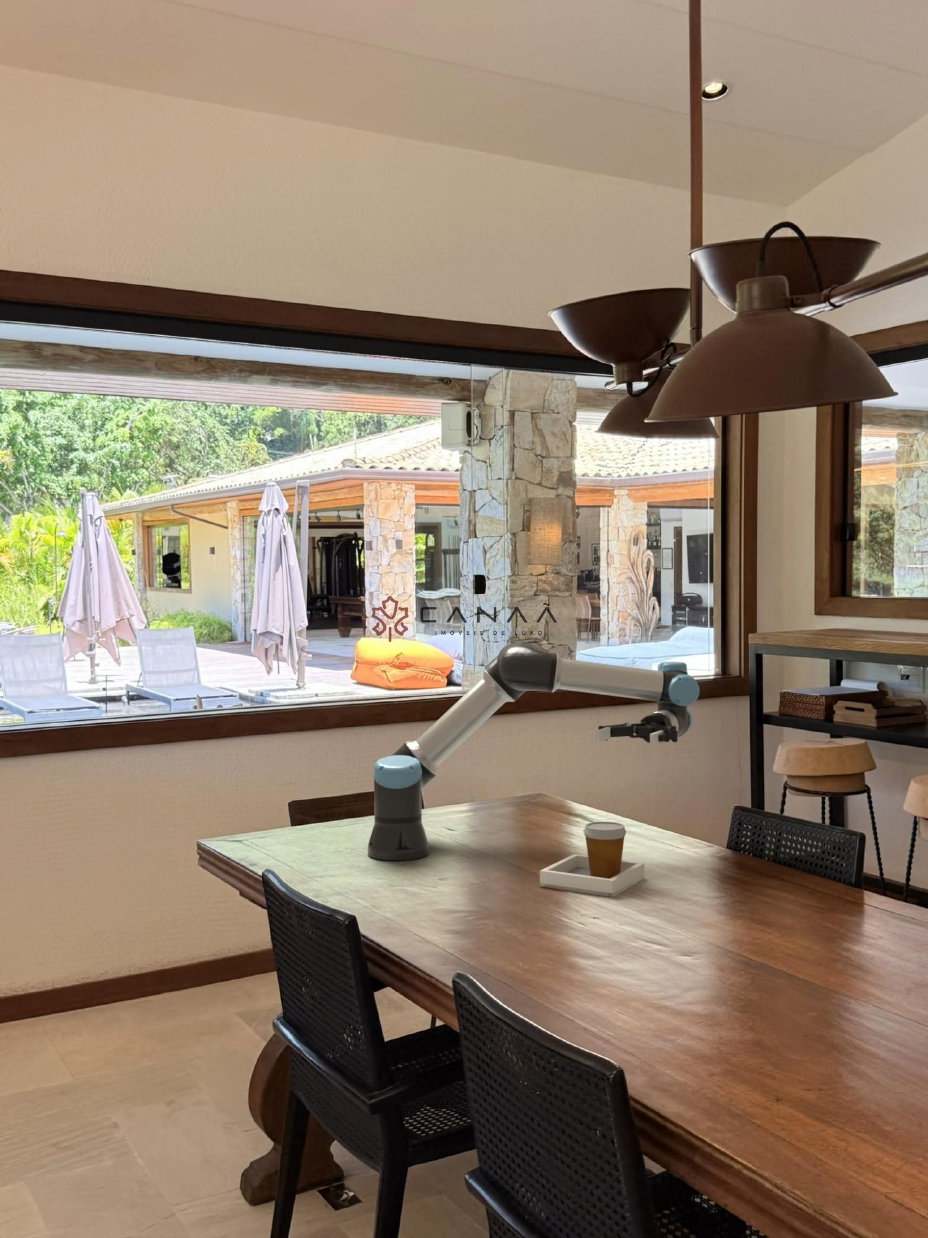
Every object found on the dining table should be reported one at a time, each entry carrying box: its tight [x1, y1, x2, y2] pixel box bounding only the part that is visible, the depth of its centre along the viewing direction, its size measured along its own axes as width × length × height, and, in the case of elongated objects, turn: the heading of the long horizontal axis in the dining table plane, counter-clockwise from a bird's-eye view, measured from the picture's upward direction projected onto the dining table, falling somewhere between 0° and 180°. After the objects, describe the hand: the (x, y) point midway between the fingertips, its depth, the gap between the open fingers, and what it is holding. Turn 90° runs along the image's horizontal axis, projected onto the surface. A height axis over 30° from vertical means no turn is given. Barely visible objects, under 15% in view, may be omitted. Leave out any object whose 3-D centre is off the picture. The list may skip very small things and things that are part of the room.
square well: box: [539, 853, 646, 898], centre depth 257 cm, size 17×17×4 cm
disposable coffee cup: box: [582, 821, 627, 879], centre depth 257 cm, size 10×10×12 cm
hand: (624, 738), depth 271 cm, fingers open, 13 cm apart
